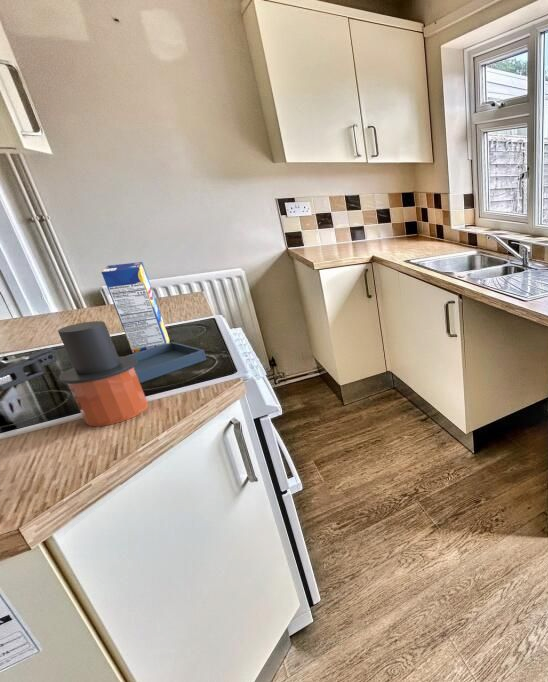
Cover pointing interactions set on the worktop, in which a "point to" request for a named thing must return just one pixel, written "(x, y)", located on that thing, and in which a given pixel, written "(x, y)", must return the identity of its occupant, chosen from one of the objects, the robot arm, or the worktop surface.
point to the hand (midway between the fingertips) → (23, 355)
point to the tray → (165, 360)
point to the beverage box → (136, 305)
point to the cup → (110, 399)
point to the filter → (91, 353)
